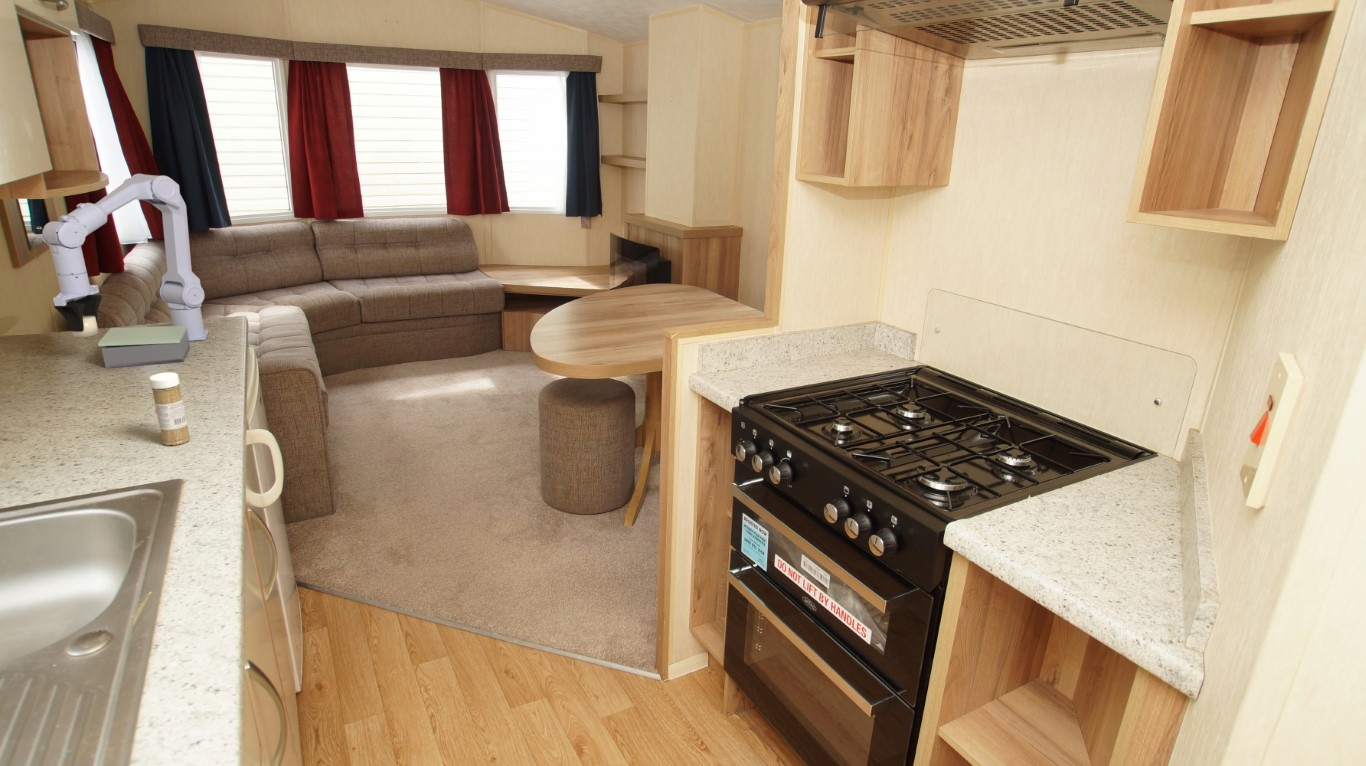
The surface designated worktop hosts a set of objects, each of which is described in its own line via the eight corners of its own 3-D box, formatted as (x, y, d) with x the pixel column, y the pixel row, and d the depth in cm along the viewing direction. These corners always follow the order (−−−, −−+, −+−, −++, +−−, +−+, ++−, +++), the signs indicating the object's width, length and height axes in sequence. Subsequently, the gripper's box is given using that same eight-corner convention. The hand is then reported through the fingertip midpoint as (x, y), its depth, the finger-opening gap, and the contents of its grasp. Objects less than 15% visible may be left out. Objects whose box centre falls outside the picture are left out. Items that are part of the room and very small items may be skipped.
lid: (111, 331, 193) (110, 328, 192) (187, 328, 200) (186, 325, 200) (98, 346, 180) (98, 342, 180) (179, 342, 187) (179, 339, 187)
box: (117, 352, 194) (113, 334, 193) (190, 347, 201) (186, 329, 200) (105, 368, 183) (101, 348, 181) (183, 361, 189) (179, 342, 188)
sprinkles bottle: (184, 435, 147) (171, 369, 143) (195, 441, 145) (182, 375, 140) (158, 442, 143) (144, 375, 139) (168, 448, 141) (154, 381, 137)
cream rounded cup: (75, 332, 185) (71, 316, 184) (100, 330, 187) (96, 314, 186) (71, 337, 181) (67, 321, 179) (96, 335, 183) (93, 319, 182)
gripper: (72, 279, 173) (85, 336, 177) (107, 267, 186) (118, 320, 191) (37, 279, 172) (52, 336, 176) (75, 267, 185) (87, 320, 190)
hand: (84, 328), depth 183 cm, fingers closed on cream rounded cup, 5 cm apart
